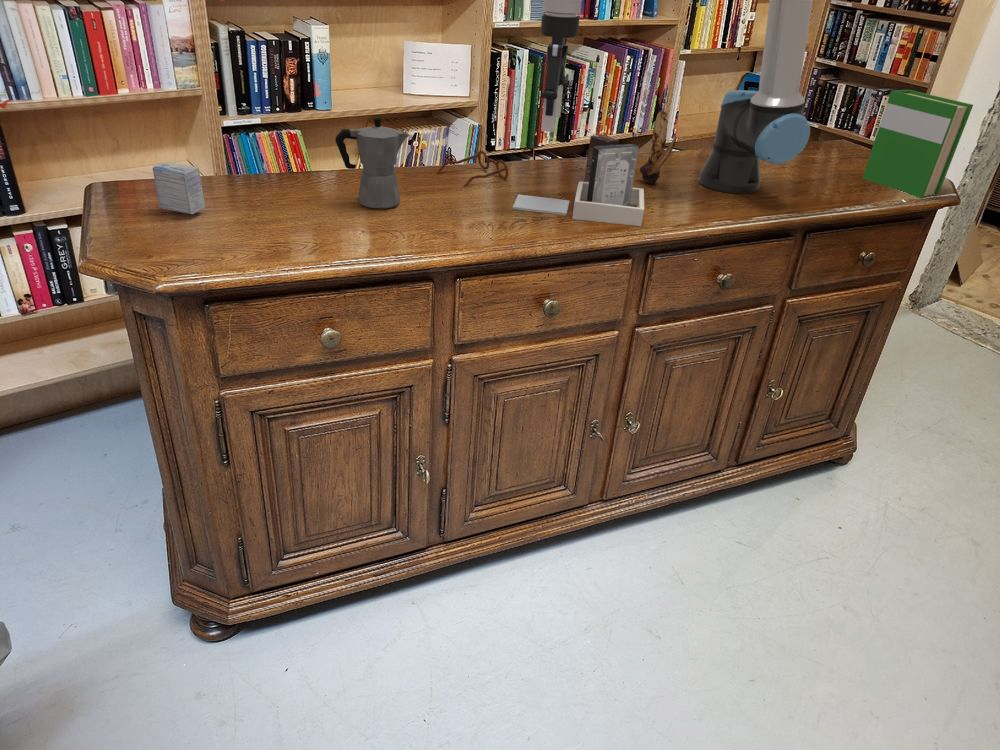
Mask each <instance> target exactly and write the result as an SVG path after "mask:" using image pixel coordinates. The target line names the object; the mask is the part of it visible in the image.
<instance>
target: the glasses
mask: <svg viewBox="0 0 1000 750" xmlns="http://www.w3.org/2000/svg"><path fill="white" fill-rule="evenodd" d="M481 154H482V155H483V156H484V158H485V159H486V166H485V165H483V163H482V159H481ZM476 158H477V162H478V163H479V167H480V168H481V169H483V170H485V171H486V170H488V169H489V168H490V162H491V163H492V164H494V165H495V167H496V170H495V171H492V172H489V173H486V174H481V175H480V174H479V175H478V174H477V175H474V176H473V175H472V176H471V177H470V178H469V179H468V180H466V182H465V184H464V185H463V186H462V187H463V188H466V187H468V186H469V185H470V184H471V183H472V182H473V180H474V179H479V178H480V179H485V178H489V177H491V176H494V175H497V174H498V176H499V177H500V178H501V179H503V180H506V179H508V177H509V169H508V166H507V164H506V161H504V160H503V159H498V160H495V159H492V158H489V156H488V155H487V153H486V152H485V151H484V150H479V151H478V152H477V154H474V155H471V156H468V157H465V158H463V159H460V160H450V161H449V160H448V161H444V162H443V164H442V165H441V166H440V168H439V169H438V170H437V172H436V173H437V174H440V173H441V172H442V171H443V169H444V168H445V167H446V166H447V165H450V164H454V165H455V164H456V165H459V164H462V163H464V162H468V161H470V160H473V159H476ZM499 164H502V165H503V168H499V167H500V165H499ZM502 172H505V176H504V175H502Z"/></svg>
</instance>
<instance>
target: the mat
mask: <svg viewBox="0 0 1000 750" xmlns="http://www.w3.org/2000/svg"><path fill="white" fill-rule="evenodd" d="M569 204H570V200H568V199H561V198H552V197H542V196H533V195H526V194H525V195H523V194H517V197H516V199H515V201H514V203H513V206H512V210H517V211H518V210H519V211H525V212H526V211H527V212H535V213H542V214H543V213H544V214H552V215H559V216H567V213H568V209H569V207H570V206H569Z"/></svg>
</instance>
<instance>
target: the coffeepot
mask: <svg viewBox="0 0 1000 750" xmlns="http://www.w3.org/2000/svg"><path fill="white" fill-rule="evenodd" d="M373 122H374V125H373V126H366V127H360V128H358V129H357V128H355V129H354V128H353V129H350V128H343V129H341V130H340V132H338V134H337V135H336V136H335V143H336V147H337V149H338V151H339V153H340V157H341V158H342V162H343V164H344V166H345V168H346V169H349V170H355V169H356V168H357V164H356V163H355V164H354V163H351V162H350V155H349V153H348V151H347V146H346V144H345V139H350V140H356V144H357V149H358V155H359V161H360V164H361V165H362V172H361V174H360V175H361V176H360V181H359V182H360V183H359V190H358V197H357V202H358V203H359V204H360V205H362V206H364V207H366V208H372V209H389V208H393V207H396V206H398V205H399V202H400V200H401V198H400V192H399V191H400V190H399V186H398V181H397V174H396V172H395V165H396V164H397V158H398V153H399V150H400V149H401V147H402V145H403V144H404V142H405V140H406V139H407V138H408V137H410V134H409V133H408V132H407V131H403V130H397V129H394V128H392V127H387V126H381V124H382V118H381V117H378V116H377V117H374V118H373Z"/></svg>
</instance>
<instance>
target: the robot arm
mask: <svg viewBox="0 0 1000 750" xmlns="http://www.w3.org/2000/svg"><path fill="white" fill-rule="evenodd" d="M582 1H583V0H543V2H542V11H544V12H545V13H543V14H542V16H541V22H540V34H541V35H543V36H544V37H551V43H549V44H548V45H547V51H546V54H547V56H546V57H547V58H546V73H545V79H544V80H545V82H544V89H543V90H544V91H543V93H542V92H541V93H540V99H543V106H542V116H541V117H542V118H541V130H540V131H541V132H547V133H555V131H556V119H557V118H561V114H562V113H561V112H562V103H563V101H562V100H563V91H564V86H567V82H568V80H567V79H566V78H565V73H566V72H565V71H566V70H565V68H566V63H567V55H568V52H569V45H567V42H568V39H573V38H576V37H578V34H579V28H580V27H579V26H580V17H579V16H578V15H579V14H580V13H581V11H582V9H581V8H582ZM768 2H769V3H768V12H767V19H766V27H765V35H764V44H763V52H762V61H761V69H760V77H759V85H758V90H742V89H737V90H736V89H733V90H728V91H726V93H725V94H724V96H723V99H722V102H721V105H720V108H721V109H720V111H719V117H718V121H717V126H716V130H715V136H714V140H713V145H712V150H711V153H710V154H709V156H708V158H707V159H706V161H705V163H704V164H703V166H702V169H701V170H700V172H699V176H698V177H699V178H698V183H700V184H701V185H702V186H704V187H706V188H709V189H711V190H714V191H717V192H718V191H719V192H722V193H723V192H724V193H727V194H738V195H743V194H745V195H746V194H747V193H748V194H753V193H752V192H754V193H756V192H758V191H759V190H760V186H761V185H760V184H761V167H760V160H761V161H763V162H767V163H769V164H773V165H781V164H784V163H787V162H789V161H791V160H793V159H795V158H796V157H797V155H799V154H801V152H802V151H803V150H804V149H805V147H806V146H807V144H808V141H809V138H810V134H811V125H810V123H809V122H808V120H807V118H806V117H805V116H804V107H805V101H806V100H805V99H806V98H805V97H804V96H803V95H802V94H801V93H800V89H801V88H800V87H801V83H802V82H801V81H802V76H803V75H802V74H803V69H804V68H803V67H804V62H805V53H806V48H807V47H806V46H807V41H808V34H809V29H810V22H811V14H812V8H813V2H814V1H813V0H769V1H768ZM757 190H758V191H757Z"/></svg>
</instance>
